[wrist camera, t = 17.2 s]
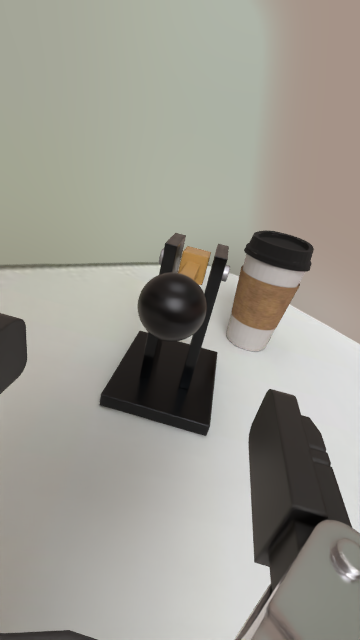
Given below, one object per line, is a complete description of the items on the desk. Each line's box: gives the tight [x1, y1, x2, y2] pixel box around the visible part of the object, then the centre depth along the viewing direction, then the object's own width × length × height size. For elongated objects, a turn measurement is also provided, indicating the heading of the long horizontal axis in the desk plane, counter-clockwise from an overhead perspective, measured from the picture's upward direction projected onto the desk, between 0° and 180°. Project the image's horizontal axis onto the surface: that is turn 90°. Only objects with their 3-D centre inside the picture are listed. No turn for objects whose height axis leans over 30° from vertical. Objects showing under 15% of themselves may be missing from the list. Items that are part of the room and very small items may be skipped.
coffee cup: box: [227, 231, 313, 351], centre depth 40 cm, size 8×8×15 cm
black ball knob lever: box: [138, 246, 211, 341], centre depth 20 cm, size 14×4×4 cm, turn 170°
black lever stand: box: [100, 233, 230, 436], centre depth 28 cm, size 12×10×15 cm
